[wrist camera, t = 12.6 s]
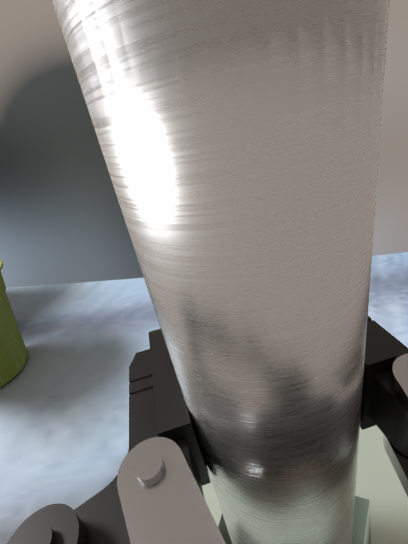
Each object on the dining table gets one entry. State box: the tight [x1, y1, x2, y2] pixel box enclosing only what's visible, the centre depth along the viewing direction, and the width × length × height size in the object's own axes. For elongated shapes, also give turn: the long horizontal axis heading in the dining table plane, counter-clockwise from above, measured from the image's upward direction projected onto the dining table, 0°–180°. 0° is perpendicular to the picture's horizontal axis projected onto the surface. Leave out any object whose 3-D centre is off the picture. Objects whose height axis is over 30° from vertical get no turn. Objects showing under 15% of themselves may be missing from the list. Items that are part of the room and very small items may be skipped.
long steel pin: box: [52, 0, 390, 544], centre depth 9 cm, size 4×4×20 cm
